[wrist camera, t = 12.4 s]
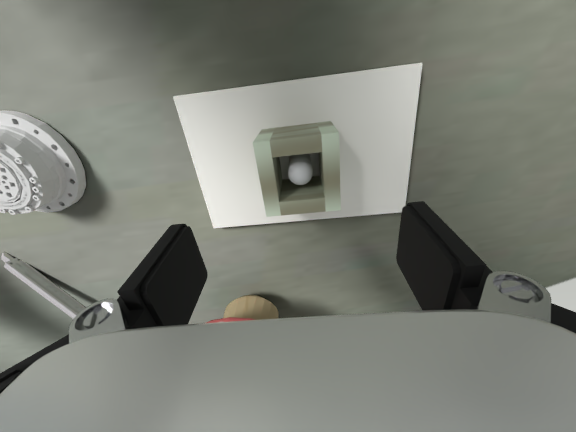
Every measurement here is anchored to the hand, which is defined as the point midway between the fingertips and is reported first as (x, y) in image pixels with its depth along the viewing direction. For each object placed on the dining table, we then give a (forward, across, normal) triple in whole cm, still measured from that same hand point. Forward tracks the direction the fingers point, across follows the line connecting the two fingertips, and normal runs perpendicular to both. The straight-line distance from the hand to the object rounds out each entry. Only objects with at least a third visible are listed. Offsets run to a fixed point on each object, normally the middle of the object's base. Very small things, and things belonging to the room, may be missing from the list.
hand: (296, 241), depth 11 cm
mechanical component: (+15, +26, -2) cm, 30 cm away
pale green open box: (+14, 0, 0) cm, 14 cm away
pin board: (+14, 0, +1) cm, 15 cm away
